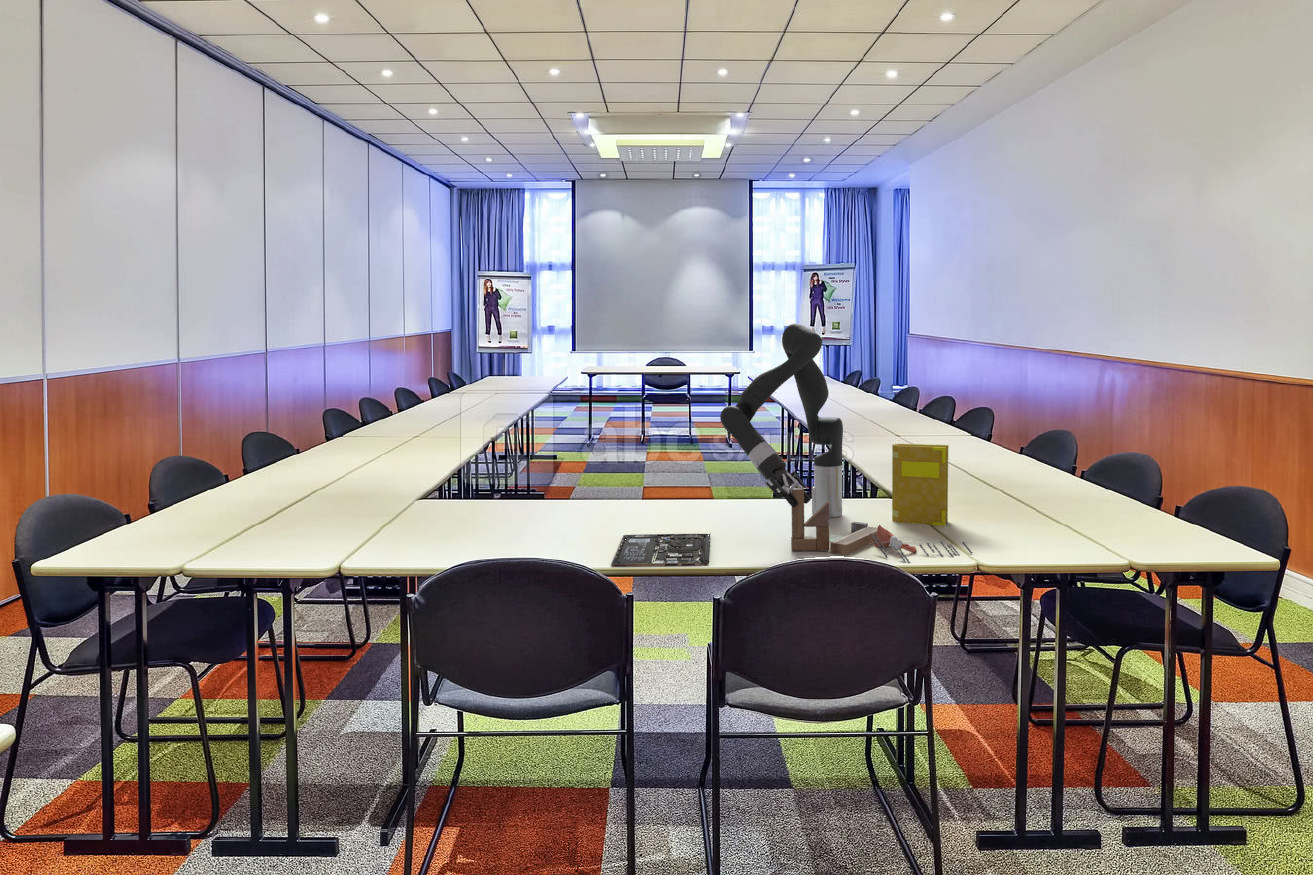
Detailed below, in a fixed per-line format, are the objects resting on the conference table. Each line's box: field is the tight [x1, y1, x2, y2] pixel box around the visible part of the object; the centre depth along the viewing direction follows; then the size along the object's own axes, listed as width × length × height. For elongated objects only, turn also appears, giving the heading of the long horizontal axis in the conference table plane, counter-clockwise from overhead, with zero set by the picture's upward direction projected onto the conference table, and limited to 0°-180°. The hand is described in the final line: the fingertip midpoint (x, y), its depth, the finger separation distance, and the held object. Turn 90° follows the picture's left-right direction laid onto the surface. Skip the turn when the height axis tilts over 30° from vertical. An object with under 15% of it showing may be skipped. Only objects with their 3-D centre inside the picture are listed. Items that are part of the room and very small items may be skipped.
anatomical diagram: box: [870, 524, 974, 564], centre depth 264 cm, size 20×9×25 cm
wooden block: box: [790, 487, 830, 552], centre depth 269 cm, size 4×11×18 cm, turn 83°
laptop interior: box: [610, 532, 711, 567], centre depth 274 cm, size 35×28×2 cm
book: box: [891, 443, 949, 527], centre depth 300 cm, size 17×7×25 cm, turn 65°
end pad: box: [814, 533, 846, 544], centre depth 281 cm, size 12×8×1 cm, turn 52°
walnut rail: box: [829, 521, 878, 556], centre depth 275 cm, size 10×24×4 cm, turn 142°
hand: (802, 503), depth 270 cm, fingers open, 6 cm apart
